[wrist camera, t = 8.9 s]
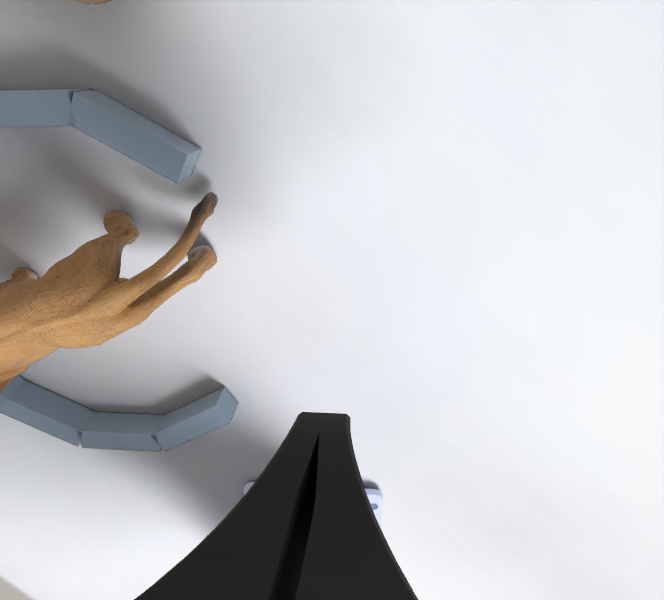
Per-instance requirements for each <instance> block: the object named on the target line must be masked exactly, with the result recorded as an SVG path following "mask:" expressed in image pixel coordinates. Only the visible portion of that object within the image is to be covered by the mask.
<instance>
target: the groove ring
mask: <svg viewBox="0 0 664 600" xmlns="http://www.w3.org/2000/svg"><path fill="white" fill-rule="evenodd" d="M28 126H73V127H74V128H76V129H78V130H80V131H82V132H84V133H85V134H87V135H89V136H91V137H93V138H95V139H96V140H98V141H100V142H102V143H104V144H106V145H107V146H109V147H111V148H113V149H115V150H117V151H118V152H120V153H122V154H124V155H126V156H128V157H129V158H131V159H133V160H135V161H137V162H139V163H140V164H142V165H144V166H146V167H148V168H150V169H151V170H153V171H155V172H157V173H159V174H161V175H162V176H164V177H166V178H168V179H170V180H172V181H173V182H175V183H178V182H180V181H182V180H184V179H185V178H187V177H189V176H191V174H192V172H193V169H194V167H195V164H196V162H197V159H198V156H199V154H200V151H201V148H199V147H197V146H195V145H194V144H192V143H190V142H188V141H187V140H185V139H183V138H181V137H179V136H178V135H176V134H174V133H172V132H171V131H169V130H167V129H165V128H163V127H162V126H160V125H158V124H156V123H155V122H153V121H151V120H149V119H147V118H146V117H144V116H142V115H140V114H138V113H137V112H135V111H133V110H131V109H130V108H128V107H126V106H124V105H122V104H121V103H119V102H117V101H115V100H114V99H112V98H110V97H108V96H106V95H105V94H103V93H101V92H99V91H98V90H94V91H91V89H50V90H5V91H0V127H28ZM237 405H238V402H237V401H236V399H235V398H234V397H233V396H232V395H231V393H230V392H229V391H228V390H227V389H226V387H223V388H221V389H219V390H217V391H214V392H212V393H210V394H208V395H206V396H204V397H202V398H200V399H198V400H195V401H193V402H191V403H189V404H187V405H185V406H183V407H181V408H179V409H177V410H174V411H172V412H170V413H168V414H166V415H154V414H132V413H111V412H95V411H93V410H90V409H88V408H86V407H84V406H81V405H79V404H77V403H75V402H73V401H70V400H68V399H66V398H64V397H62V396H59V395H57V394H55V393H53V392H50V391H48V390H46V389H44V388H42V387H39V386H37V385H35V384H33V383H31V382H28V381H26V380H25V379H24V378H22V377H21V376H20V375H19V374H18V375H16V376H14V378H13V379H12V381H11V382H10V383H9V384H8V385H7V386H6V388H5V389H3V390H2V391H1V392H0V413H2V414H4V415H7V416H9V417H11V418H13V419H16V420H18V421H20V422H23V423H25V424H27V425H29V426H32V427H34V428H36V429H39V430H41V431H43V432H46V433H48V434H50V435H52V436H55V437H57V438H59V439H62V440H64V441H66V442H68V443H71V444H73V445H75V446H78V445H79V444H80V443H81V446H82V448H97V449H116V450H134V451H153V452H161V451H162V449H163V450H164V451H167V450H169V449H171V448H173V447H176V446H178V445H180V444H183V443H185V442H187V441H189V440H192V439H194V438H196V437H198V436H201V435H203V434H205V433H207V432H210V431H212V430H214V429H216V428H219V427H221V426H223V425H226V424H228V423H230V422H231V419H232V417H233V414H234V412H235V410H236V407H237Z"/></svg>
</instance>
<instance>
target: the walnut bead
mask: <svg viewBox="0 0 664 600" xmlns="http://www.w3.org/2000/svg"><path fill="white" fill-rule="evenodd" d="M74 1H77V2H81V3H87V4H99V3H106V2H109V1H112V0H74Z"/></svg>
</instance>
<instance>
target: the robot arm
mask: <svg viewBox="0 0 664 600" xmlns="http://www.w3.org/2000/svg"><path fill="white" fill-rule="evenodd" d="M372 503H374V504H372ZM381 524H382V493H381V492H380V491H379V490H376V489H366V488H364V485H363V482H362V479H361V476H360V472H359V469H358V465H357V462H356V458H355V454H354V450H353V445H352V439H351V432H350V417H349V416H348V415H347V414H336V413H313V412H302V413H300V414H299V415H298V417H297V419H296V421H295V423H294V424H293V426H292V428H291V430H290V431H289V433H288V435H287V437H286V438H285V440H284V441H283V443H282V445H281V446H280V448H279V449H278V451H277V452H276V454H275V455H274V457H273V458H272V459H271V461H270V462H269V464H268V465H267V467H266V468H265V470H264V471H263V472H262V474H261V475H260V476H259V477H258V479H257V480H256V481H255V482H249V483H247V484H246V485H245V487H244V497H243V498H242V499H241V500H240V501H239V503H238V504H237V505H236V506H235V507H234V508H233V509H232V511H231V512H230V513H229V514H228V515H227V516H226V517H225V518H224V519H223V520H222V522H221V523H220V524H219V525H218V526H217V527H216V528H215V529H214V530H213V531H212V532H211V533H210V534H209V535H208V536H207V537H206V538H205V539H204V540H203V541H202V542H201V543H200V544H199V545H198V546H197V547H196V548H195V549H194V550H193V551H191V552H190V553H189V554H188V555H187V556H186V557H185V558H184V559H183V560H182V561H180V562H179V563H178V564H177V565H176V566H174V567H173V568H172V569H171V570H170V571H169V572H167V573H166V574H165V575H164V576H163V577H162V578H160V579H159V580H158V581H157V582H156V583H155V584H153V585H152V586H151V587H150V588H149V589H147V590H146V591H145V592H144V593H142V594H141V595H140V596H138V597H137V598H136V599H134V600H418V598H417V597H416V595H415V594H414V592H413V590H412V588H411V586H410V585H409V583H408V581H407V579H406V577H405V576H404V574H403V572H402V570H401V568H400V567H399V565H398V563H397V561H396V559H395V557H394V555H393V553H392V551H391V549H390V547H389V545H388V543H387V541H386V539H385V537H384V535H383V533H382V530H381Z"/></svg>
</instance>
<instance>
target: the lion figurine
mask: <svg viewBox="0 0 664 600" xmlns="http://www.w3.org/2000/svg"><path fill="white" fill-rule="evenodd" d="M216 205H217V196H216V195H215V194H214V193H213V192H209V193H208V194H207V195H206V196H205V197H204V198H203V199H202V201H201V202H200V203H199V204H198V205H197V206H196V207H195V208H194V209H193V210H192V213H191V217H190V221H189V223H188V225H187V228H186V230H185V231H184V233H183V235H182V236H181V238H180V239H179V241H178V242H177V243H176V244H175V245H174V246H173V247H172V248H171V249H170V250H169V251H168V252H167V253H166V254H165V255H164V256H163V257H162V258H161V259H159V260H158V261H157V262H156V263H155V264H154V265H152V266H151V267H149V268H148V269H146V270H144V271H143V272H141V273H139V274H138V275H136V276H134V277H132V278H131V279H126V278H119V274H120V266H121V254H122V250H123V248H124V246H125V245H127V244H131V243H132V242H134V241H135V240H136V238H137V237H138V236H139V231H138V228H137V227H136V225H135V224H134V222H133V220H132V218H131V217H130V216H129V215H128V214H126V213H124V212H121V211H112V212H109V213H108V214H107V215H106V217H105V219H104V226H105V229H106V231H107V232H108V234H106V235H103V236H101V237H99V238H96V239H94V240H91V241H89V242H87V243H85V244H84V245H82V246H81V247H79V248H78V249H77V250H76V251H75V252H74V253H73V254H71V255H70V256H68V257H66V258H64V259H62V260H60V261H58V262H57V263H56V264H54V265H53V266H52V267H51V268H50V269H49V270H48V271H47V273H46V274H45V275H44V276H43V277H41V278H40V279H38V276H37V275H36V274H35V273H34V272H32V271H30V270H28V269H25V268H19V269H16V270H14V271H13V274H12V275H13V277H12V279H11V280H8V281H5V282H2V283H0V392H1V391H2V390H3V389H5V388H6V386H7V385H8V384H9V383H10V382H11V381H12V379H13V378H14V376H16V375H18V374H20V373H22V372H23V371H24V370H26V369H27V368H28V366H29V365H30V364H32V363H34V362H36V361H38V360H40V359H42V358H43V357H45V356H47V355H49V354H50V353H52V352H53V351H55V350H56V349H57V348H86V347H93V346H97V345H100V344H102V343H104V342H106V341H108V340H109V339H111V338H113V337H115V336H117V335H119V334H121V333H123V332H124V331H126V330H128V329H131V328H133V327H135V326H137V325H139V324H140V323H142V322H143V321H144V320H145V319H146V318H147V317H148V316H149V315H150V314H151V313H152V312H153V311H154V310H155V309H156V308H158V307H159V306H160V305H161V304H162V303H164V302H165V301H166V300H167V299H169V298H170V297H171V296H172V295H174V294H175V293H176V292H178V291H179V290H181V289H183V288H184V287H186V286H187V285H189V284H191V283H194V282H196V281H197V280H199V279H200V278H201V277H202V275H203V274H204V273H205V271H207V270H209V269H210V268H211V267H212V266H213V265H215V263H216V262H217V257H216V254H215V253H214V251H213V250H212V249H211V248H210V247H208V246H205V245H202V246H198V247H196V248H194V249H192V250H191V251H190V252H189V250H190V248H191V247H192V245H193V243H194V241H195V239H196V237H197V236H198V234H199V231H200V229H201V226H202V224H203V223H204V221H205V220H206V219H207V218H208V217H209V216H210V215H212V214H213V212H214V208H215V206H216ZM188 252H189V254H188V262H186V263H185V264H183V265H182V266H181V267H180V268H179V269H178V270H176V271H175V272H174V273H172V274H171V275H169V276H168V277H167V278H165V279H163V280H161V279H162V278H164V277H165V276H166V275H167V274H168V273H169V272H170V271H171V270H172V269H173V268H174V267H175V266H176V265H177V264H179V262H180V261H181V260H182V259H183V258H184V257H185V256H186V254H187V253H188ZM160 280H161V281H160Z"/></svg>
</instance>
